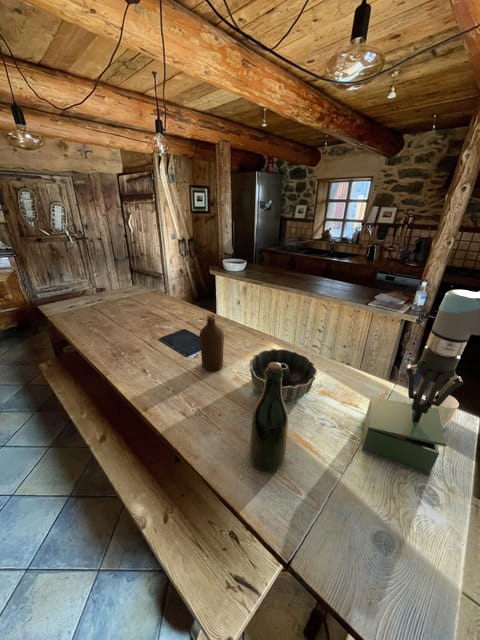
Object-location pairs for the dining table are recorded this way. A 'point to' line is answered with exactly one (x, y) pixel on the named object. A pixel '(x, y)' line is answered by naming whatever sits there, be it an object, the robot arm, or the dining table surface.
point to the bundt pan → (284, 372)
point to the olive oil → (211, 345)
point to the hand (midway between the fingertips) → (415, 418)
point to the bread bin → (400, 449)
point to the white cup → (447, 409)
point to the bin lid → (405, 421)
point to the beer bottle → (269, 423)
